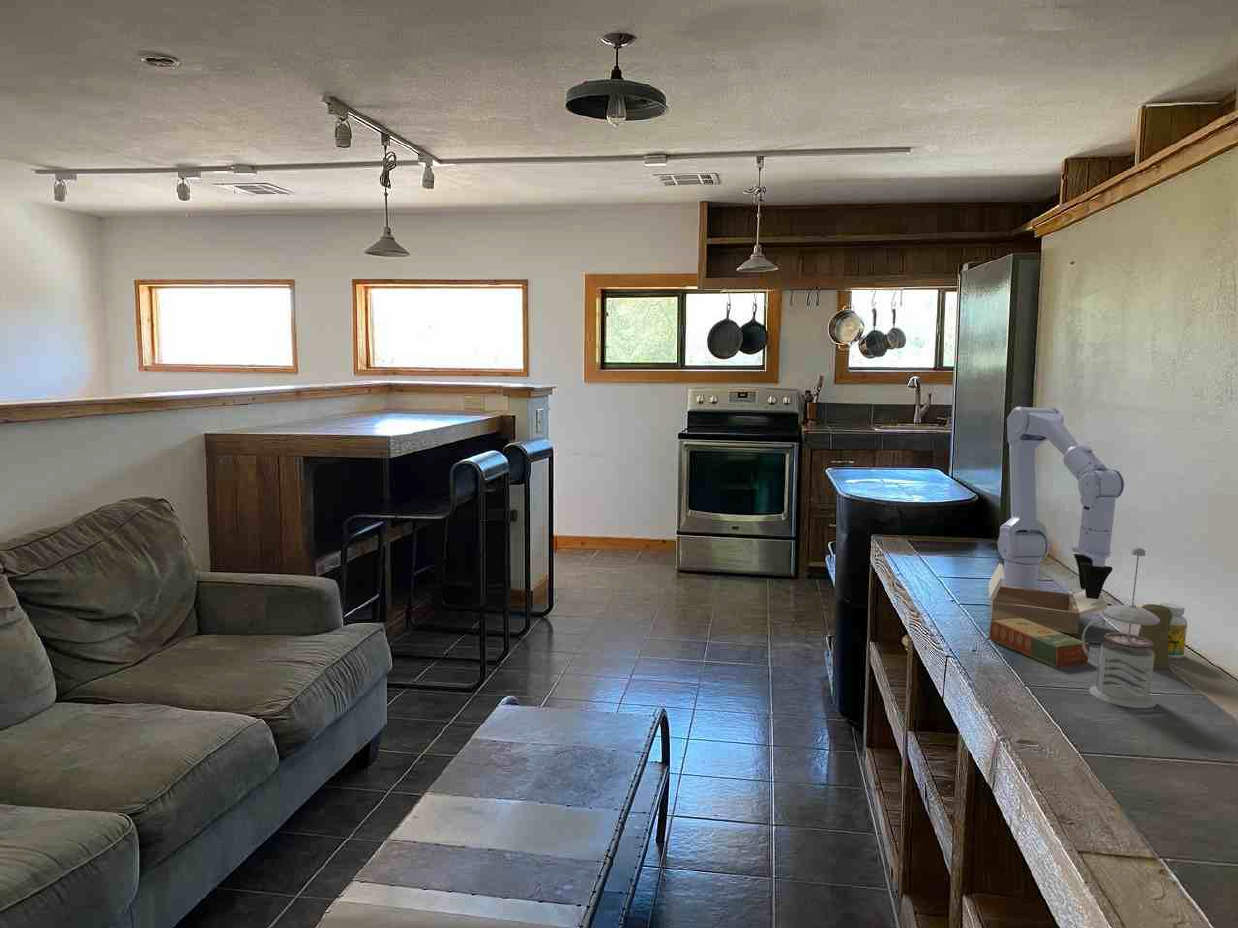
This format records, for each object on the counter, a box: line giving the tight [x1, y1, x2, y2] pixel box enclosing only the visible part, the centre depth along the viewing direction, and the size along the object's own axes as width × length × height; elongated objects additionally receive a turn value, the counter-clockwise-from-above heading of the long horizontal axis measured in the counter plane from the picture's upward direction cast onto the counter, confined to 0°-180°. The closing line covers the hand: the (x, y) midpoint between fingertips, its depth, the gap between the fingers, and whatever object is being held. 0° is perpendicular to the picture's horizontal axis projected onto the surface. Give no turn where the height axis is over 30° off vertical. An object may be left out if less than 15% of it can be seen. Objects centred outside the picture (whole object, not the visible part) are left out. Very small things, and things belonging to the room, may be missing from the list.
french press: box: [1081, 547, 1160, 709], centre depth 148 cm, size 10×12×25 cm
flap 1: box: [988, 563, 1004, 601], centre depth 192 cm, size 15×5×1 cm
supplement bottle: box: [1159, 602, 1188, 660], centre depth 171 cm, size 5×5×10 cm
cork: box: [1132, 603, 1172, 671], centre depth 165 cm, size 6×6×11 cm
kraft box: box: [989, 585, 1081, 639], centre depth 190 cm, size 16×16×5 cm
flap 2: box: [1073, 590, 1108, 617], centre depth 185 cm, size 15×5×1 cm, turn 158°
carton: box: [989, 618, 1090, 668], centre depth 171 cm, size 8×16×4 cm, turn 22°
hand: (1089, 593), depth 185 cm, fingers open, 7 cm apart
